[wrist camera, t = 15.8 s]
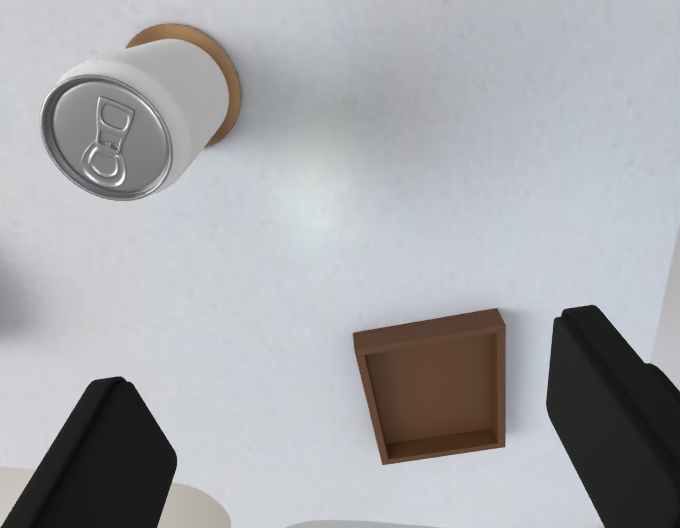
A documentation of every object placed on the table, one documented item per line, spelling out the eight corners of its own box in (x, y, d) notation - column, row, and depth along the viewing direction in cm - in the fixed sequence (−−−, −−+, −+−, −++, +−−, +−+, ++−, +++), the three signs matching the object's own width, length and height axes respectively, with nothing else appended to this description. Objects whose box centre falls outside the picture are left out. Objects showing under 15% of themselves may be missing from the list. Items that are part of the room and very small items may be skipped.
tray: (352, 332, 42) (354, 350, 40) (496, 308, 41) (505, 324, 39) (380, 446, 51) (382, 465, 49) (498, 428, 50) (505, 447, 48)
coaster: (162, -8, 27) (160, -8, 27) (264, 87, 30) (264, 88, 30) (99, 92, 30) (95, 93, 30) (198, 169, 33) (196, 171, 33)
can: (123, 115, 30) (21, 176, 20) (144, 18, 27) (37, 33, 17) (214, 153, 32) (162, 229, 22) (243, 66, 29) (199, 106, 19)
